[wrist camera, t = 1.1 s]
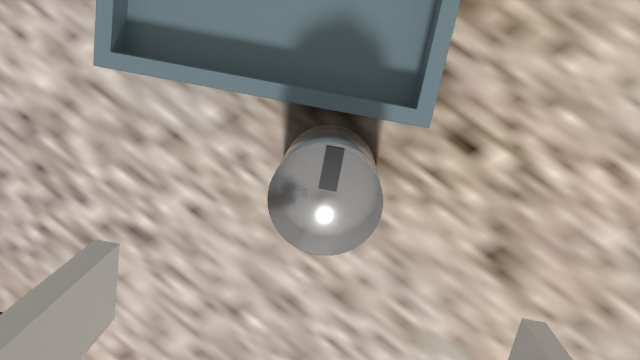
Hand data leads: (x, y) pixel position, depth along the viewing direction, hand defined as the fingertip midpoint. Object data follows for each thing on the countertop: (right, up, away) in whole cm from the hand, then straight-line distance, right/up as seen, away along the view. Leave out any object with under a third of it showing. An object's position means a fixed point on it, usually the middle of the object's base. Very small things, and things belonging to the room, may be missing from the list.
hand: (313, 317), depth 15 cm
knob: (+1, +5, +18) cm, 19 cm away
